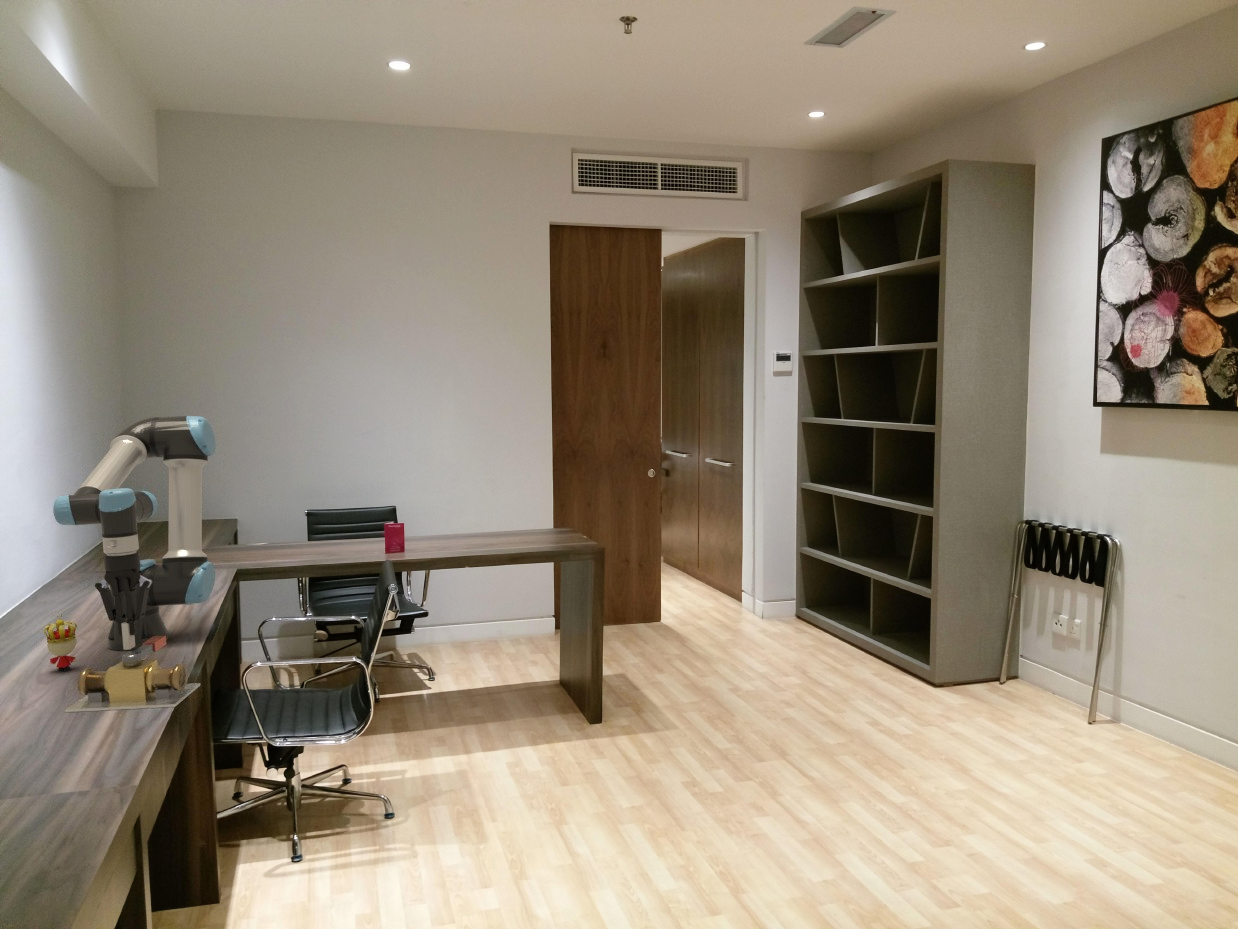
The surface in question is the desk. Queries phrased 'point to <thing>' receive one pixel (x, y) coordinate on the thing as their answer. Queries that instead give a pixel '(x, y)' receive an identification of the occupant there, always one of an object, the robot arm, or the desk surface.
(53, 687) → the desk surface
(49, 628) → the toy
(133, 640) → the robot arm
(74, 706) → the valve body
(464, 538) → the desk surface
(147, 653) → the lever
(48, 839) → the desk surface
